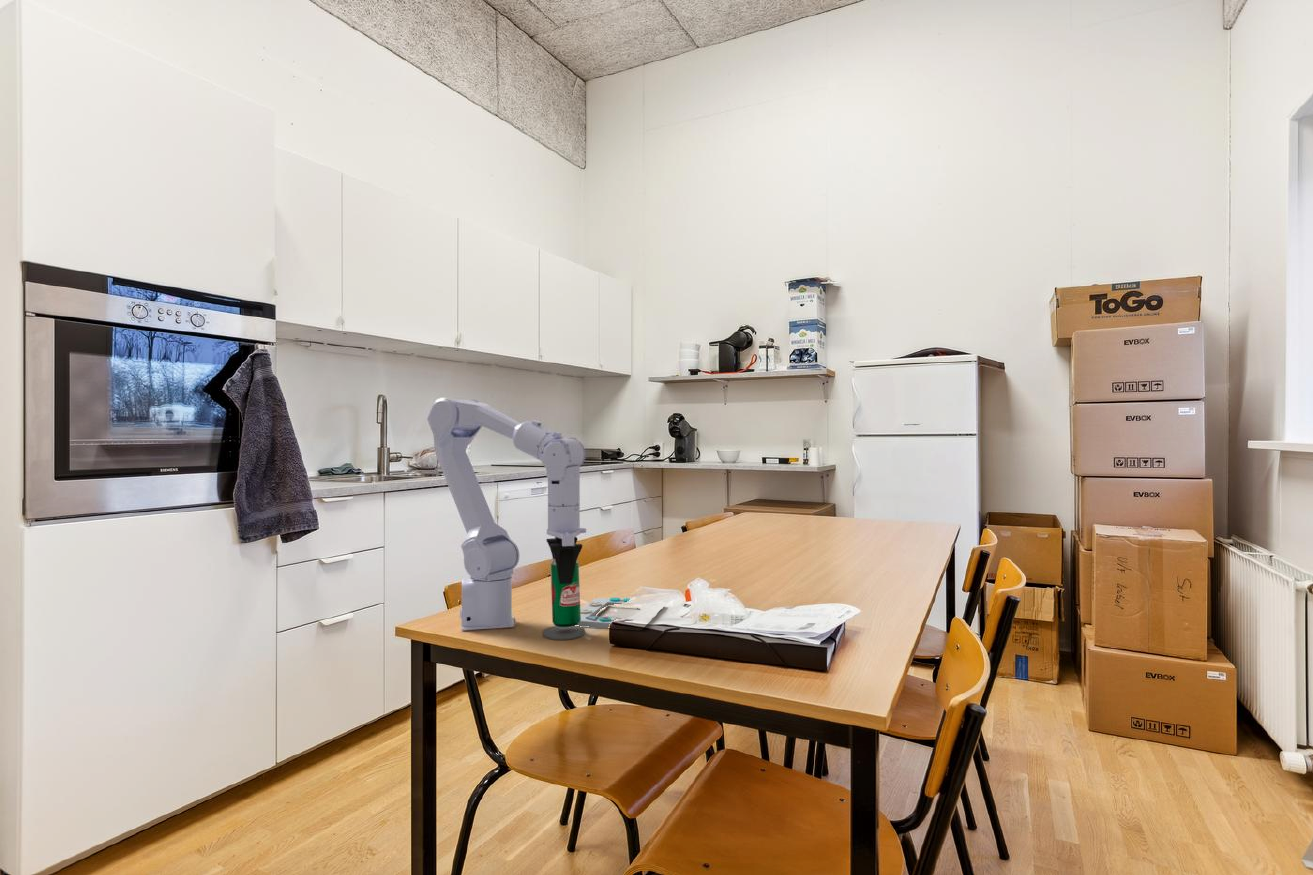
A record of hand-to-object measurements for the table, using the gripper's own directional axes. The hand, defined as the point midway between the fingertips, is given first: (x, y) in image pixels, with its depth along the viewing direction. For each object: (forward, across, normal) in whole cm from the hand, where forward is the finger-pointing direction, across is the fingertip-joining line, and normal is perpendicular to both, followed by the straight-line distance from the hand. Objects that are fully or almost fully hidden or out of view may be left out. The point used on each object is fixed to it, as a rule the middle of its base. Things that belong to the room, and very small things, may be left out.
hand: (563, 580), depth 124 cm
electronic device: (+11, +10, -12) cm, 19 cm away
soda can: (+8, 0, 0) cm, 8 cm away
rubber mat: (+10, 0, 0) cm, 10 cm away
